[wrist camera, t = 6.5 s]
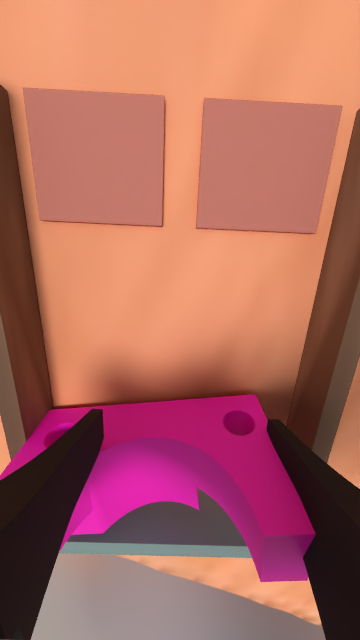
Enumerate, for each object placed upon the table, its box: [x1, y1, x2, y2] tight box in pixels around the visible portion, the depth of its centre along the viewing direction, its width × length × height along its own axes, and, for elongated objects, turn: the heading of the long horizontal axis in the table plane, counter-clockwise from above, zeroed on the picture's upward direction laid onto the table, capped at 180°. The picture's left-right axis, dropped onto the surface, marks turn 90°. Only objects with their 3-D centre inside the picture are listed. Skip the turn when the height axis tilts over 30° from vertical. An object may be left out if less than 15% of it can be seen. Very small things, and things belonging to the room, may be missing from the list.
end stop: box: [59, 488, 252, 558], centre depth 17 cm, size 20×1×4 cm, turn 87°
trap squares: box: [23, 88, 342, 234], centre depth 12 cm, size 16×6×1 cm, turn 87°
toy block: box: [0, 394, 316, 582], centre depth 13 cm, size 15×6×8 cm, turn 96°
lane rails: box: [0, 85, 360, 463], centre depth 13 cm, size 20×26×3 cm
